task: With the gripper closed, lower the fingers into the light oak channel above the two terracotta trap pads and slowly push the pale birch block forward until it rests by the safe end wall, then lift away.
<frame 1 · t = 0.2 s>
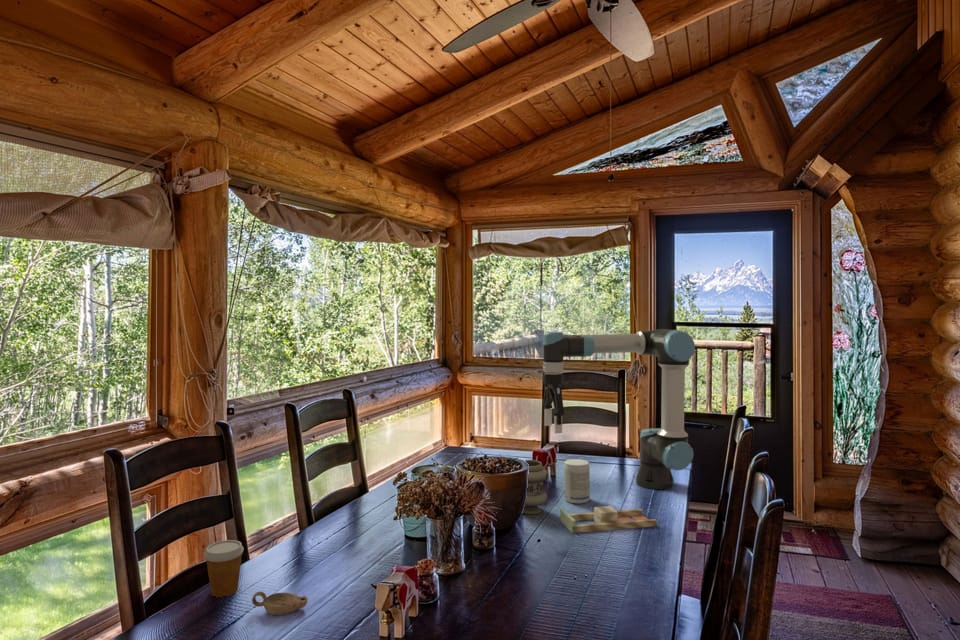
hand: (553, 429, 226), 28 cm above the table, fingers open, 13 cm apart
oil lamp: (280, 612, 147), on the table
trap pads: (634, 521, 208), on the table
apothecary jar: (530, 512, 217), on the table
channel rails: (608, 523, 206), on the table
birch block: (605, 524, 205), on the table
disposable coffee cup: (224, 592, 157), on the table
safe end wall: (567, 526, 203), on the table
supplement tub: (576, 500, 230), on the table
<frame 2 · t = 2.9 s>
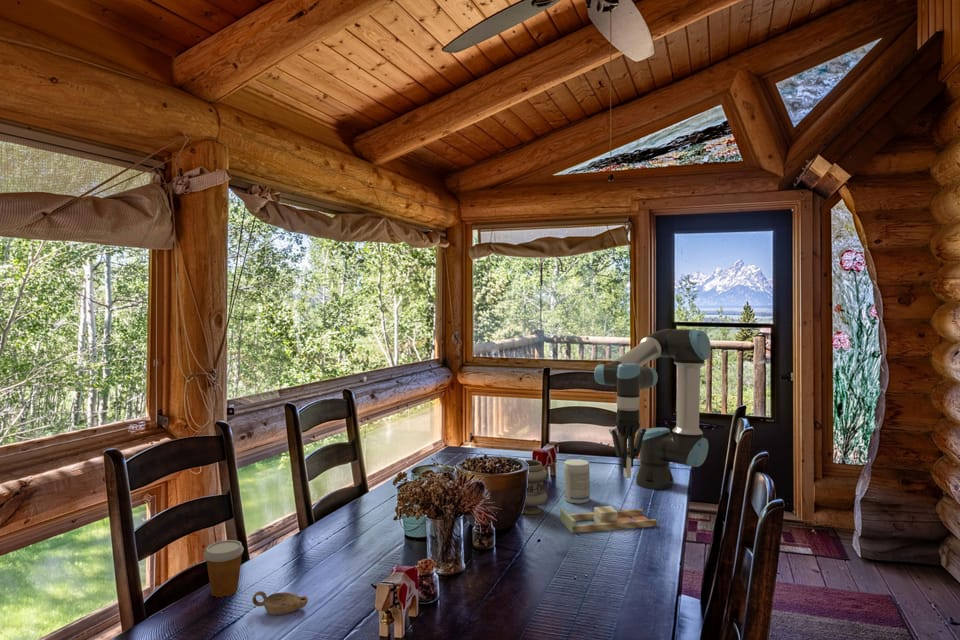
hand: (627, 477, 206), 16 cm above the table, fingers closed
nothing on the table moved.
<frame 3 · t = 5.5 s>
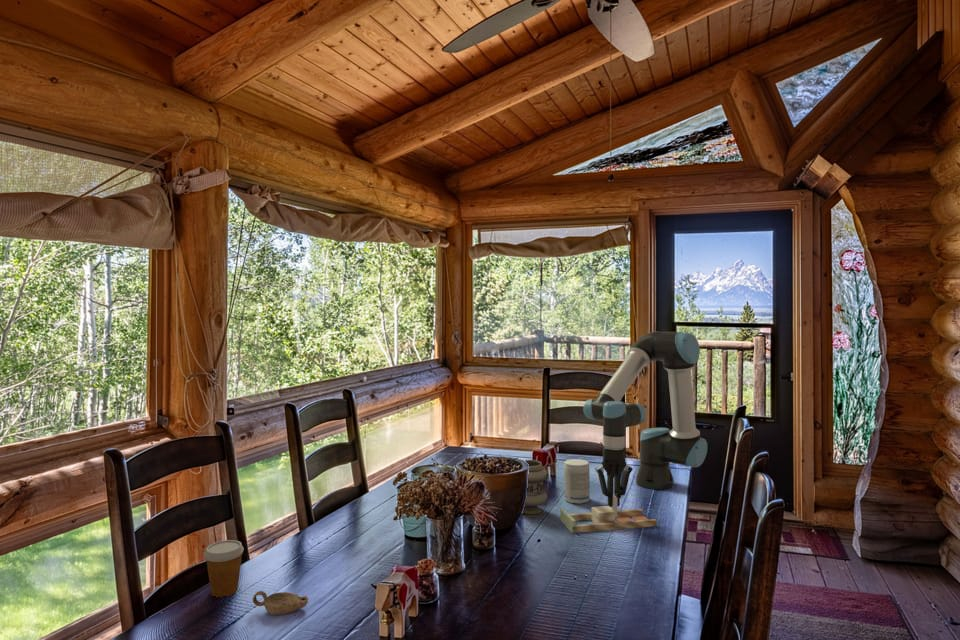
hand: (613, 515, 206), 3 cm above the table, fingers closed
birch block: (603, 523, 205), on the table, touching gripper
everything else where it was.
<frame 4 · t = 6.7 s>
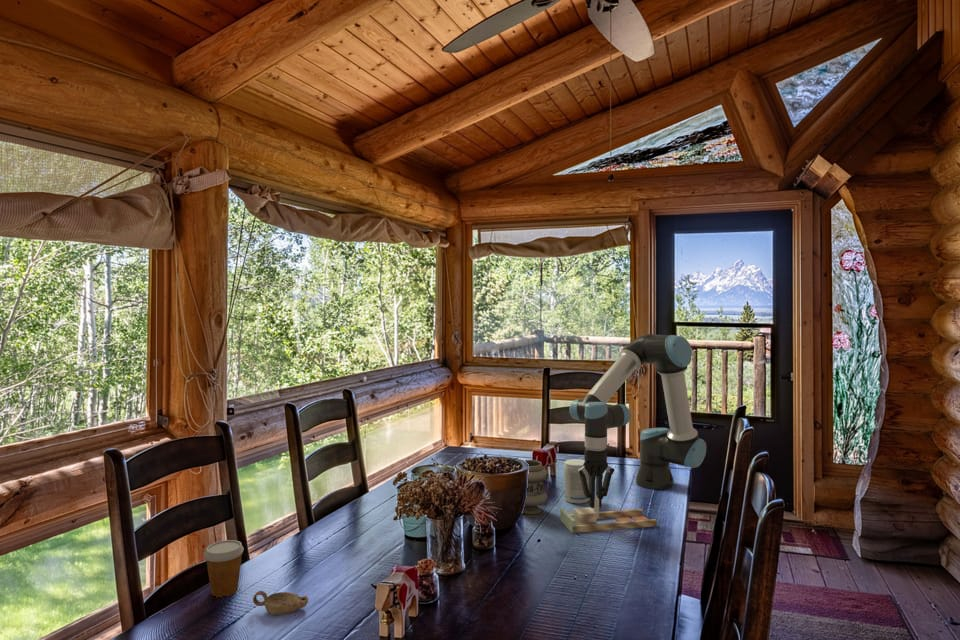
hand: (595, 517, 205), 3 cm above the table, fingers closed
birch block: (584, 525, 204), on the table, touching gripper
everything else where it was.
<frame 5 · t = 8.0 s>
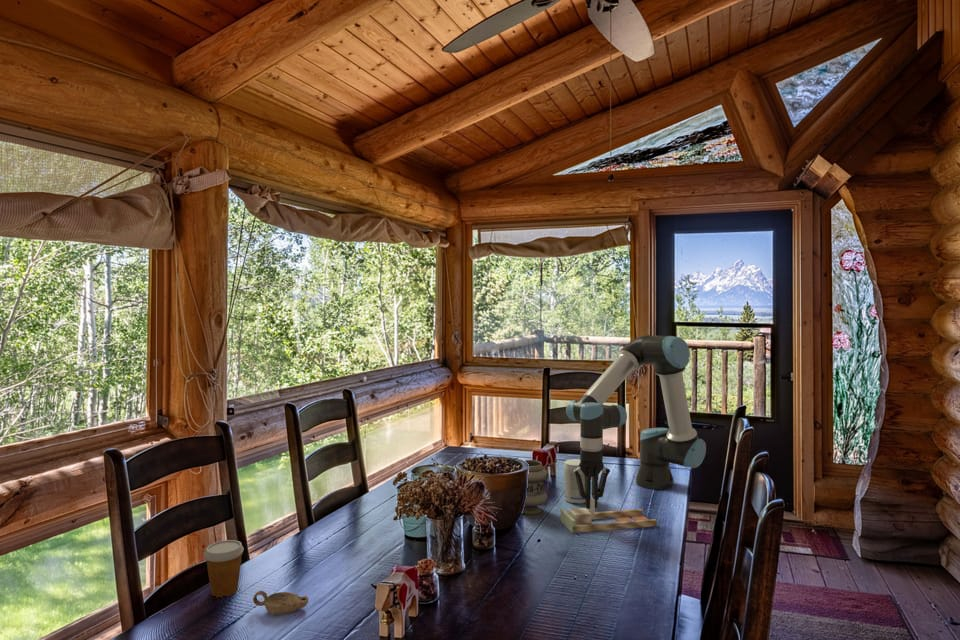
hand: (591, 517, 204), 2 cm above the table, fingers closed
birch block: (579, 525, 204), on the table
everything else where it was.
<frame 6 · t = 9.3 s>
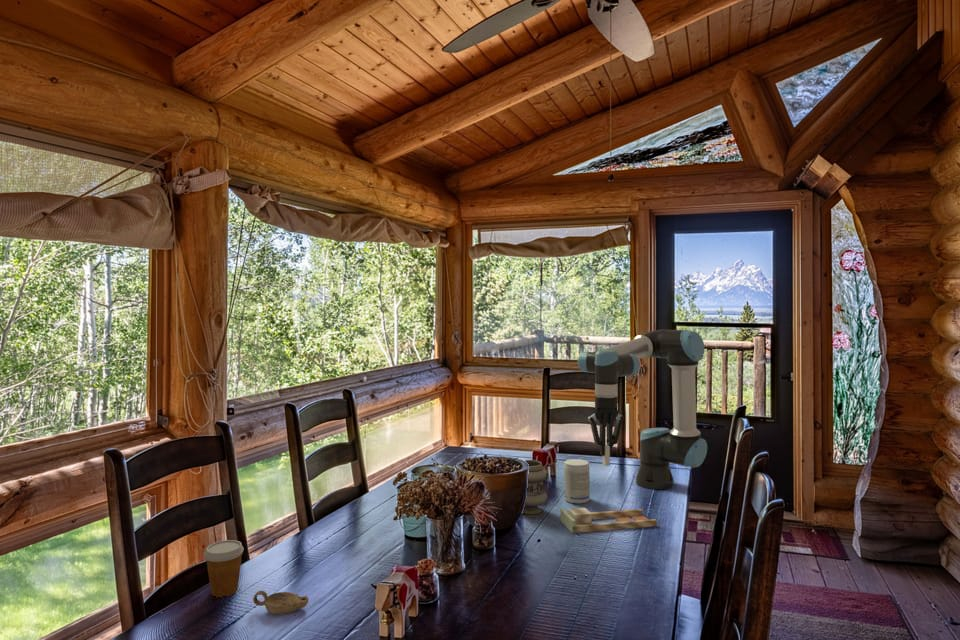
hand: (605, 464, 205), 20 cm above the table, fingers closed
nothing on the table moved.
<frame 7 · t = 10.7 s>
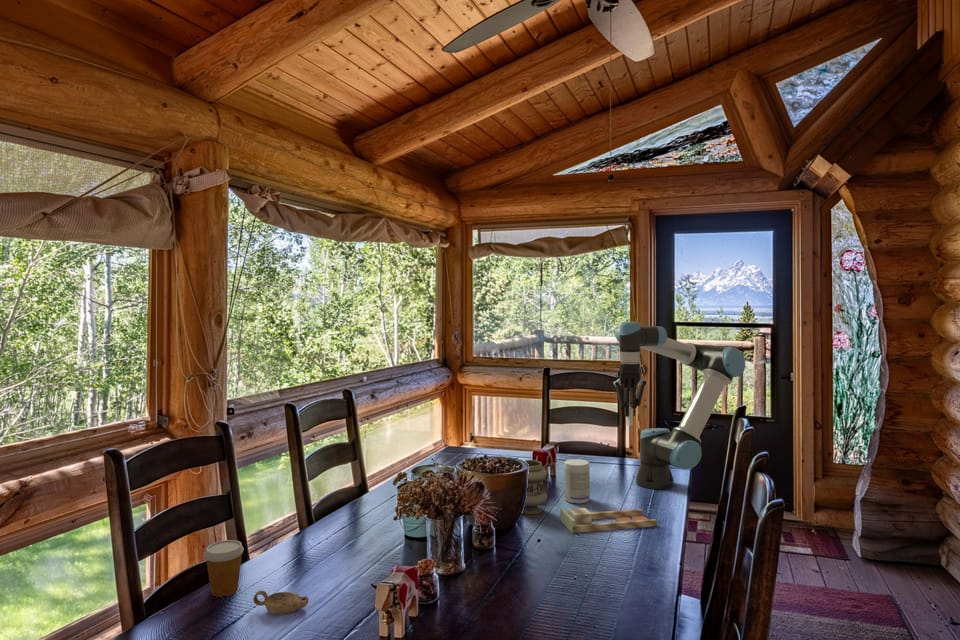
hand: (629, 424, 228), 29 cm above the table, fingers closed
nothing on the table moved.
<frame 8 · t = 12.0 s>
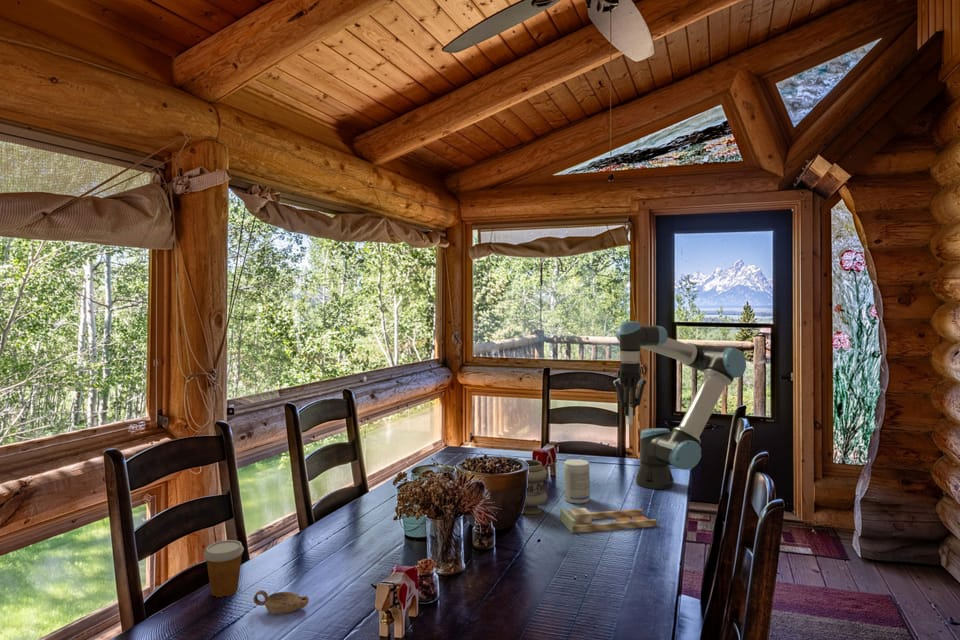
hand: (629, 424, 228), 29 cm above the table, fingers closed
nothing on the table moved.
at the end: birch block 0.2 cm from the target spot, on the table; birch block tilted 0° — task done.
